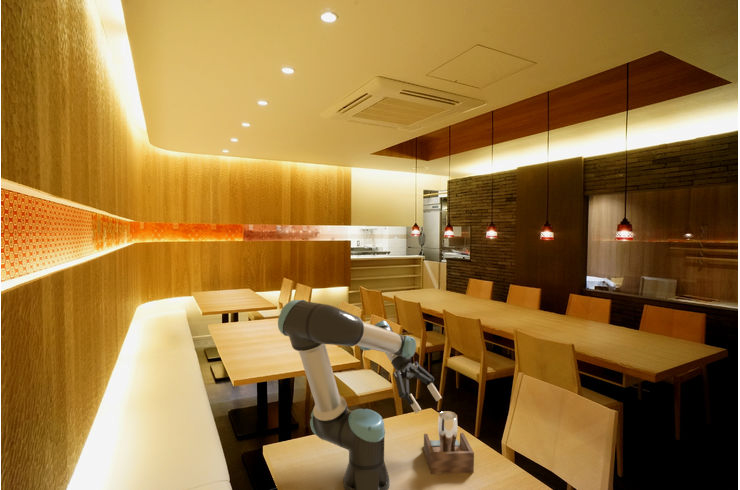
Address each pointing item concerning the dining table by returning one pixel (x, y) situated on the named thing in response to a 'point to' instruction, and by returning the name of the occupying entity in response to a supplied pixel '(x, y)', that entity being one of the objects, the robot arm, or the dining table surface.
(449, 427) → the beer glass
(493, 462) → the dining table surface
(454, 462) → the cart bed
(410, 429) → the dining table surface
